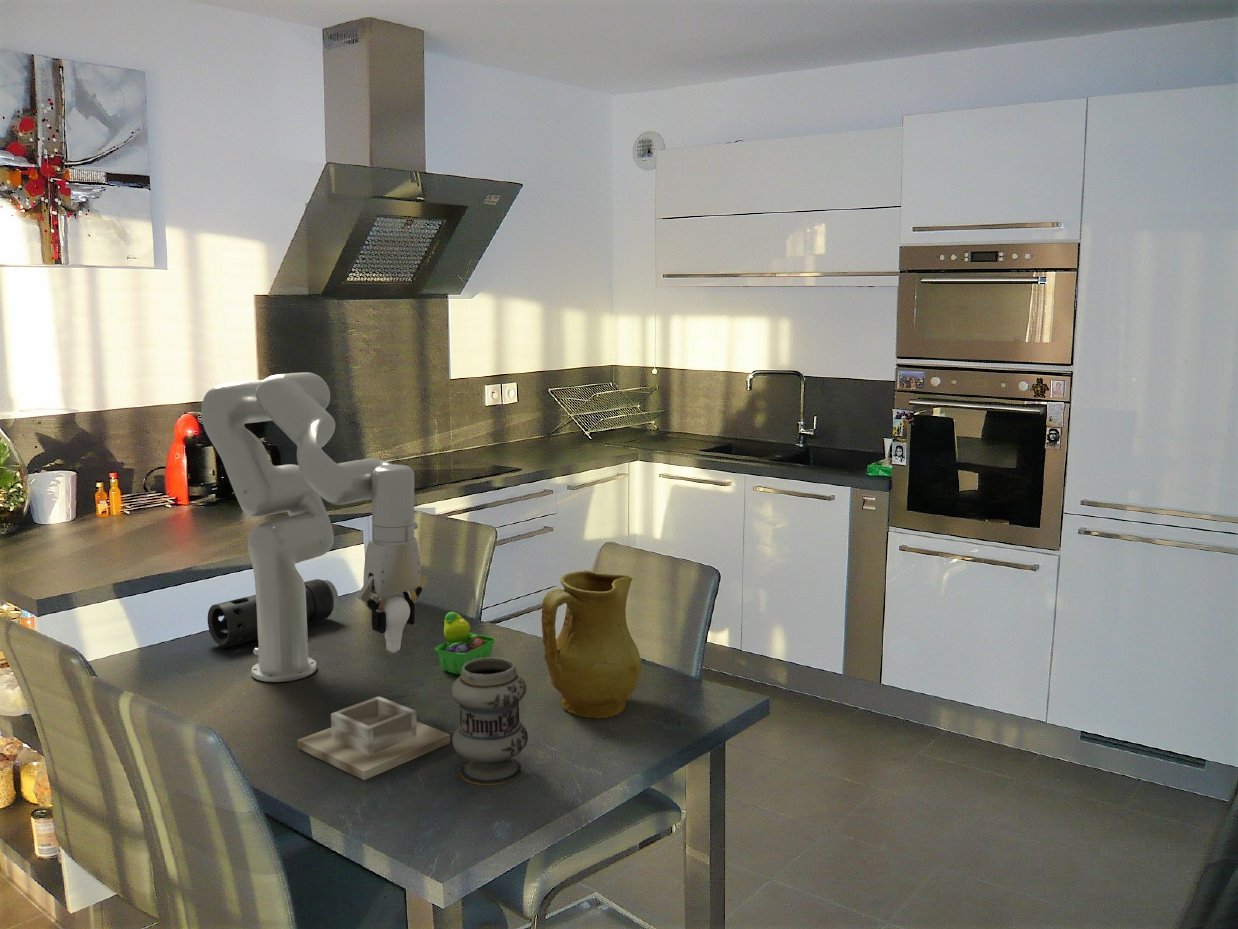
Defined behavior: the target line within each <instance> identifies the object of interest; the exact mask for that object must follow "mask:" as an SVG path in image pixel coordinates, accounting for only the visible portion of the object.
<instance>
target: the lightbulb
mask: <svg viewBox="0 0 1238 929" xmlns="http://www.w3.org/2000/svg"><path fill="white" fill-rule="evenodd" d="M383 612H385V613H386V632H385V633H383V634H384V639H385V645H386V650H387V651H389V652H390V653H393V654H394V653H397V652H399V651H400V649H401V644H402V643H401V641H402V638H403V631H404V629H405V626H406V624H407V623H406V622H407V620H408V618H409V615H410V607H409V604H408V603H407V601H406V600H405V599H404V598H403V596H400V595H398V594H395V595H392V596H388V597H387V599H386V602H385V605H384V609H383Z"/></svg>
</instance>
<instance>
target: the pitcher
mask: <svg viewBox="0 0 1238 929" xmlns="http://www.w3.org/2000/svg"><path fill="white" fill-rule="evenodd" d="M632 581H633V577H632V576H630V575H629V574H628V575H627V574H620V573H619V574H615V573H614V574H612V573H601V572H596V571H593V570H587V569H586V570H585V569H584V570H583V571H582V570H578V571H577V570H576V571H573V572H568V573H566V574H563V575H562V576H561V577H560V584H561V585H562V588H563V589H561V588H552V589H550V590H549V591H548V592H546V594H545V595H544V598H543V599H542V603H541V622H540V623H541V633H542V643H543V646H544V656H543V657H544V658H543V659H544V661H545V663H546V666H547V672H548V673H549V677H550V682H551V685H552V687H554V688H555V690H556V691H558V692H559V693H560V694H561V698H560V706H561V707H562V709H565V710H566V711H567V712H568V713H569V714H573V715H575V716H578V717H583V718H590V719H604V718H606V719H608V717H609V718H612V717H613V716H614V717H616V716H618V715H620V712H621V713H623V712H624V710H625V709H626V706H625V705H626V701H627V700H628V699H629V697H630V696H631V695H632V693H633V691H634V690H635V688H636V687H637V682H638V680H639V677H640V675H641V674H640V673H641V671H642V661H641V656H640V652H639V650H638V649H639V648H638V647H637V644H636V642H635V641H634V639H633V637H632V635H631V633H630V629H629V627H628V624H627V614H626V608H627V600H628V594H629V590H630V587H631V583H632ZM564 604H566V609H565V614H564V616H565V617H564V619H563V620H564V621H563V624H562V628H561V629H560V630H561V631H560V632H559V634H558V636H557V637H556V632H557V631H556V621H557V620H556V619H557V611H558V609H559V607H560V606H563V605H564ZM624 706H625V707H624ZM624 708H625V709H624ZM623 709H624V710H623ZM615 715H616V716H615Z"/></svg>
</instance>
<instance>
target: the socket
mask: <svg viewBox="0 0 1238 929" xmlns="http://www.w3.org/2000/svg"><path fill="white" fill-rule="evenodd" d="M330 726H331V727H329V728H326V729H323V730H321V731H317V732H315V733H312V734H309V735H307V736H304V737H301V738H299V739H297V749H298V750H300V751H302V752H304V753H306V754H309V755H311V756H312V757H315V758H317V759H319V760H321V761H324V762H325V763H328V764H330V765H332V766H334V767H336V768H337V769H339V770H341V771H344V772H346V773H348V774H350V775H352V776H355V777H356V778H358V779H360V780H363V781H366V780H369V779H371V778H373V777H375V776H377V775H379V774H382V773H385V772H387V771H388V770H391V769H393V768H396V767H399V766H401V765H403V764H405V763H407V762H411V761H412V760H413V759H416V758H418V757H422V756H423V755H426V754H427V753H430V752H433V751H435V750H437V749H439V748H441V747H442V748H443V746H447V745H448V744H450V743H451V734H449V733H447V732H445V731H442V730H439V729H437V728H435V727H432V726H430V725H427V724H424V723H423V722H419V721H418V720H417V710H415V709H412V708H410V707H407V706H405V705H402V704H399V703H397V702H395V701H393V700H389V699H387V698H384V697H382V696H379V695H378V696H376V697H372V698H371V699H370V698H369V699H367V700H365V701H362V702H358V703H356V704H353V705H351V706H347V707H345V708H343V709H340V710H337V711H334V712H332V713H330Z"/></svg>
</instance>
